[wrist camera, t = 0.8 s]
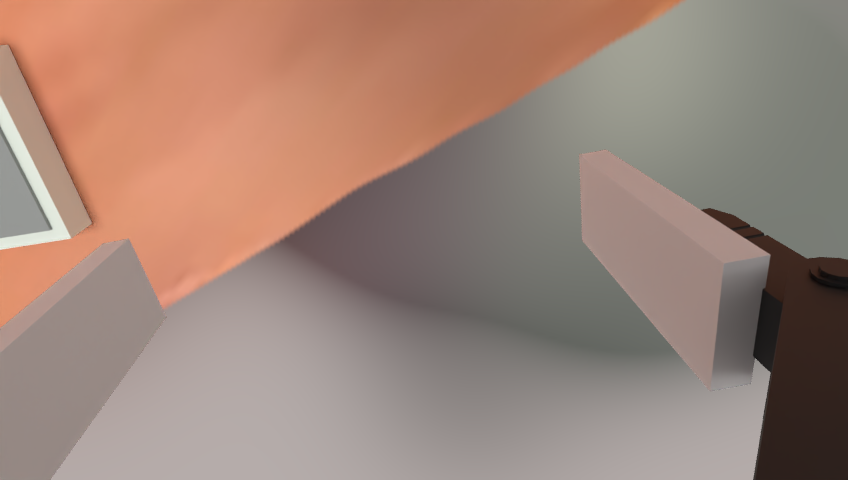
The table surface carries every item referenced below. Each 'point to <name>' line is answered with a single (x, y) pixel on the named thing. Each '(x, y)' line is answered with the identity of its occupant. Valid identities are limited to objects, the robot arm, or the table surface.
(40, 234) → the stand
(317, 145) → the table surface
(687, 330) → the robot arm
